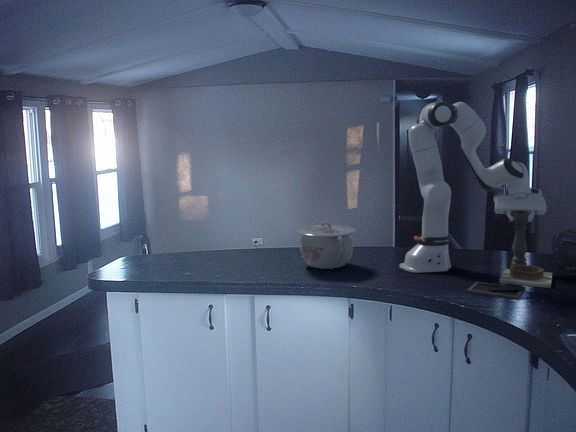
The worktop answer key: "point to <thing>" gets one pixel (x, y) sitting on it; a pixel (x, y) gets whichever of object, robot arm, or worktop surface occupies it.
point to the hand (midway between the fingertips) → (520, 221)
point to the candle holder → (519, 238)
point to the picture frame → (497, 290)
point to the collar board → (526, 276)
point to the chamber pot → (326, 245)
